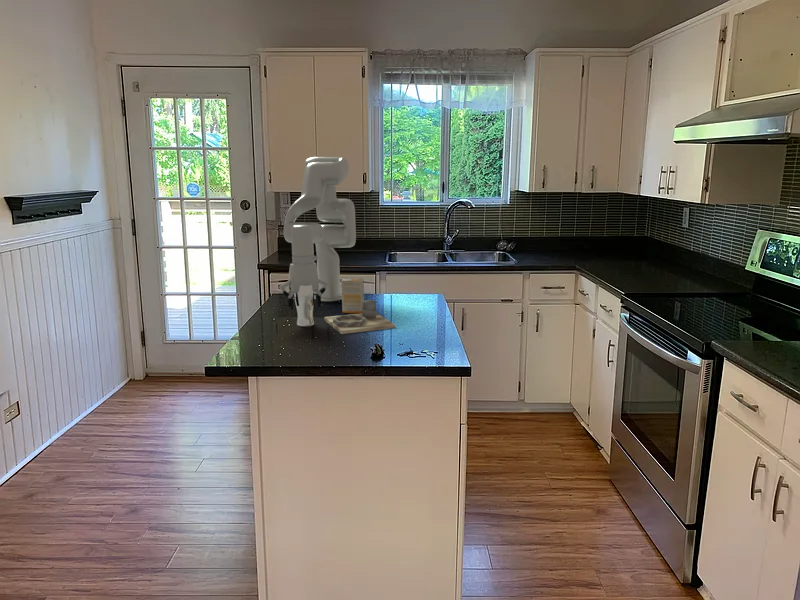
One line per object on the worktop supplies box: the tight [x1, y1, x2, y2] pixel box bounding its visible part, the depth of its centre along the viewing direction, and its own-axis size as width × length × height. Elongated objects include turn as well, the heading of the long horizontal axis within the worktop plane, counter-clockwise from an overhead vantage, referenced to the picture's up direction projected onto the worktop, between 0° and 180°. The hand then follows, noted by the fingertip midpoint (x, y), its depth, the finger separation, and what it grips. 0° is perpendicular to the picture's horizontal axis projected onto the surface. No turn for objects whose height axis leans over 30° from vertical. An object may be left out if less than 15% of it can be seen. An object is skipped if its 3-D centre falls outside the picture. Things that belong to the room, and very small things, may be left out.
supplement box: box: [340, 277, 365, 314], centre depth 230 cm, size 8×5×13 cm, turn 84°
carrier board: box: [324, 299, 396, 335], centre depth 213 cm, size 20×20×7 cm
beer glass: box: [294, 285, 315, 328], centre depth 211 cm, size 7×7×15 cm
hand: (304, 307), depth 211 cm, fingers open, 9 cm apart
